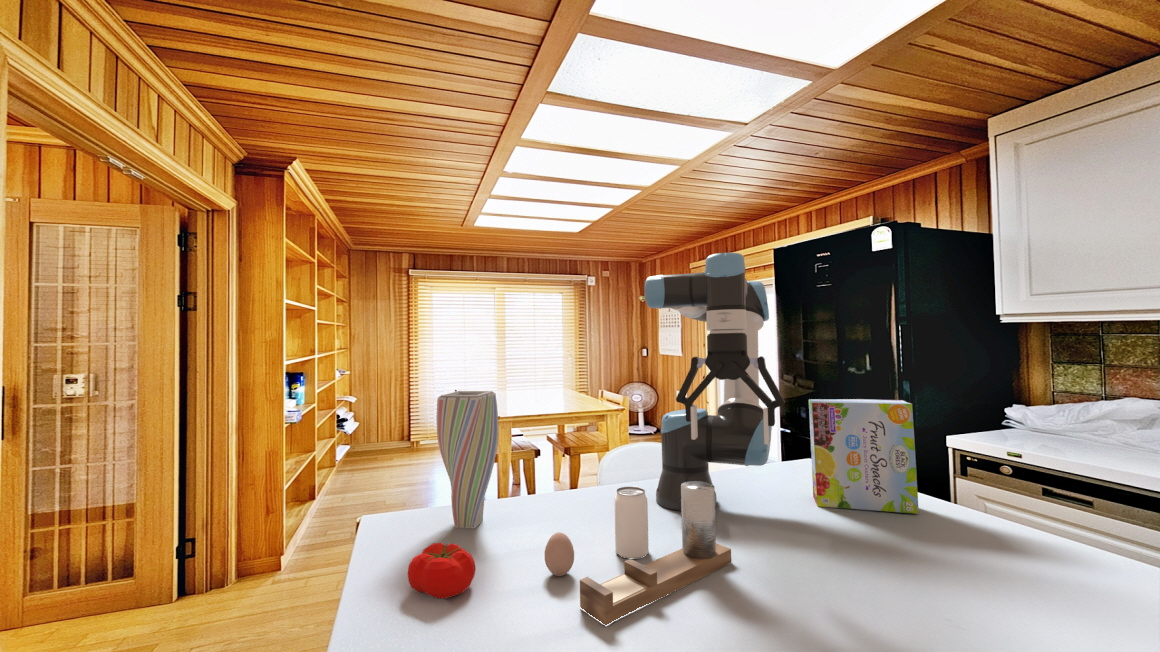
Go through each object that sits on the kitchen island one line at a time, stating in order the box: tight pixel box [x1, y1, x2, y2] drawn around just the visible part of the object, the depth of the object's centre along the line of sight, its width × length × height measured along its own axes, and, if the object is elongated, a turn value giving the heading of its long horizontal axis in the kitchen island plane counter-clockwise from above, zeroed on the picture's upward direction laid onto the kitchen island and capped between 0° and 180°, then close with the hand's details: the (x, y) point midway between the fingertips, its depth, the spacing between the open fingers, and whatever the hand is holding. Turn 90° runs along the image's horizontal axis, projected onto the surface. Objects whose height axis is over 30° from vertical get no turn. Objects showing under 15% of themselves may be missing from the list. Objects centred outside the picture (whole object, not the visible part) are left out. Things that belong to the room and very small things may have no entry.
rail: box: [579, 542, 732, 625], centre depth 81 cm, size 6×31×4 cm, turn 128°
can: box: [614, 485, 649, 559], centre depth 94 cm, size 6×6×12 cm
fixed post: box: [681, 481, 717, 560], centre depth 88 cm, size 6×6×12 cm
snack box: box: [808, 398, 920, 515], centre depth 117 cm, size 22×9×26 cm, turn 71°
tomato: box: [407, 542, 476, 599], centre depth 81 cm, size 10×11×6 cm
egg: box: [544, 531, 575, 577], centre depth 85 cm, size 5×5×7 cm
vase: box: [436, 390, 499, 529], centre depth 110 cm, size 14×14×30 cm
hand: (729, 440), depth 93 cm, fingers open, 13 cm apart
